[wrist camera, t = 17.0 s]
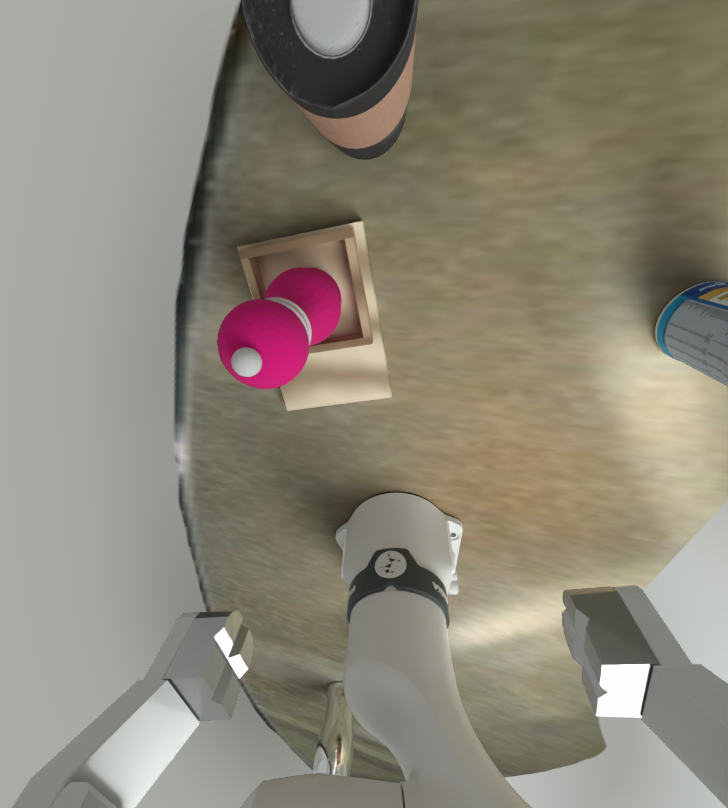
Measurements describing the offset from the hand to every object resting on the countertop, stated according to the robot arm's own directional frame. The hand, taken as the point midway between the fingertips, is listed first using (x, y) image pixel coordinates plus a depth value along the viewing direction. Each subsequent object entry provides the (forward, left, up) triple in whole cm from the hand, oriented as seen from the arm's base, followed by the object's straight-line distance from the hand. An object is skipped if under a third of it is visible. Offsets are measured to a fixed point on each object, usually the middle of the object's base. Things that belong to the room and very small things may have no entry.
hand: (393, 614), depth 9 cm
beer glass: (-77, +22, -35) cm, 87 cm away
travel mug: (+17, 0, -35) cm, 39 cm away
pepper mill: (+3, +8, -34) cm, 35 cm away
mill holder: (-1, +8, -35) cm, 36 cm away
